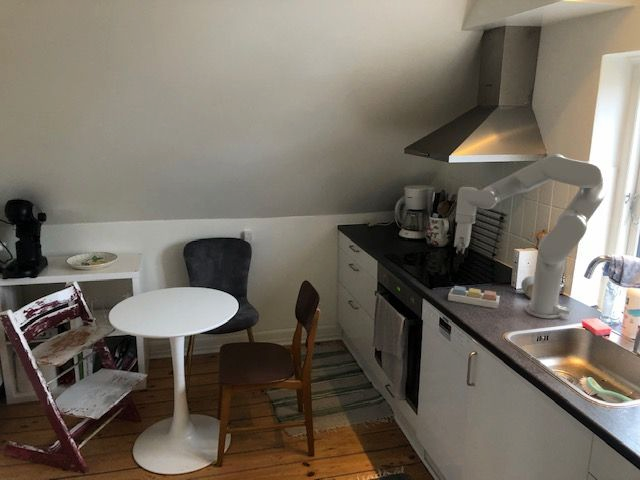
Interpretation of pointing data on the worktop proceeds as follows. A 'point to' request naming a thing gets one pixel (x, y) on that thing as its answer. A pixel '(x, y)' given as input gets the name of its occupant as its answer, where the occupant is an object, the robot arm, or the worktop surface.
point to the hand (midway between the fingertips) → (461, 259)
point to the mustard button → (474, 293)
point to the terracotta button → (489, 295)
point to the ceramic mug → (528, 286)
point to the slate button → (459, 290)
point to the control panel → (474, 299)
